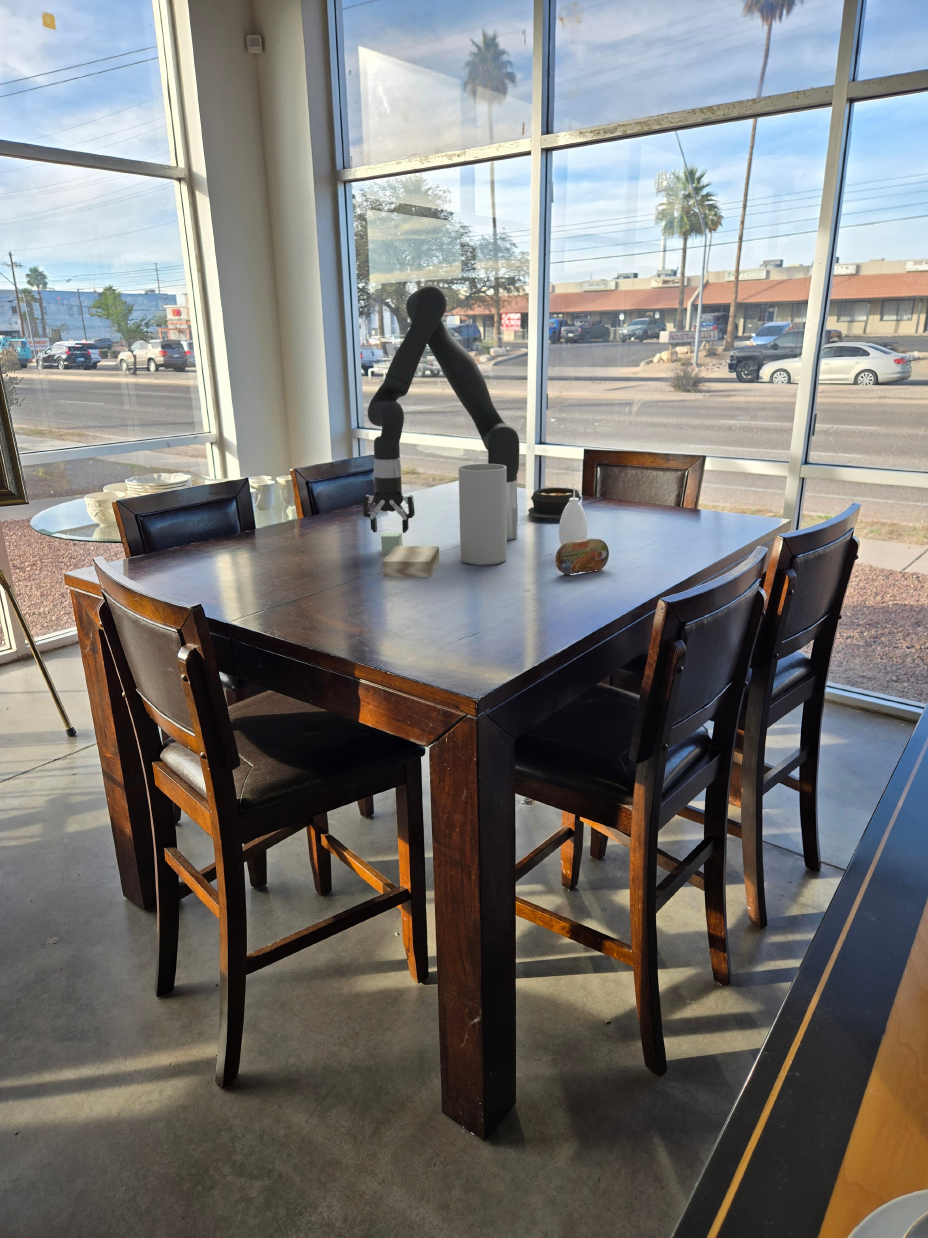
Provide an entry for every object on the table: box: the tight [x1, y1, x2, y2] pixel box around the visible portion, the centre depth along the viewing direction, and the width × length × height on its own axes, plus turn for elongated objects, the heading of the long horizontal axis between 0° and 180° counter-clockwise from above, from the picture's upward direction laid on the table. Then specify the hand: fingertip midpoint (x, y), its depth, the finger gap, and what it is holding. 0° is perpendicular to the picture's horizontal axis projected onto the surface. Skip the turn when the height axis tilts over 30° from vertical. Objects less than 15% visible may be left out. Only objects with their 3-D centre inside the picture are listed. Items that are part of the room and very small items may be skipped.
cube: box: [380, 531, 404, 554], centre depth 226 cm, size 5×5×5 cm
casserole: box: [527, 487, 582, 519], centre depth 267 cm, size 25×19×8 cm
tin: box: [555, 538, 610, 576], centre depth 201 cm, size 15×3×8 cm, turn 117°
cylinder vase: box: [458, 463, 508, 566], centre depth 211 cm, size 12×12×25 cm
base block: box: [382, 545, 440, 578], centre depth 208 cm, size 12×16×4 cm
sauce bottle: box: [558, 488, 589, 546], centre depth 217 cm, size 8×8×18 cm
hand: (389, 532), depth 226 cm, fingers open, 8 cm apart
